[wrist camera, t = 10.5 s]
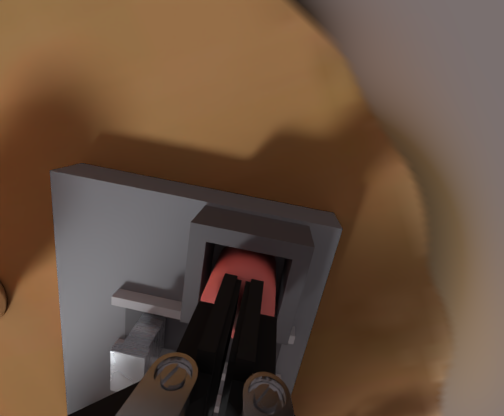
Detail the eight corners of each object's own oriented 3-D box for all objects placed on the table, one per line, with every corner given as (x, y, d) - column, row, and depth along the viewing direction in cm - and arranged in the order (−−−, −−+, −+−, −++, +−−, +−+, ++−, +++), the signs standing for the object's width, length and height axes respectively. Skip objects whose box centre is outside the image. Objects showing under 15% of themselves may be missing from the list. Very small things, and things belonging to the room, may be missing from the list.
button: (270, 296, 15) (266, 345, 12) (214, 284, 15) (196, 330, 12) (281, 246, 14) (282, 285, 11) (222, 233, 14) (204, 268, 11)
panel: (261, 460, 24) (256, 543, 20) (90, 420, 25) (45, 490, 20) (333, 212, 17) (354, 251, 12) (81, 163, 17) (6, 180, 12)
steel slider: (166, 349, 18) (142, 397, 15) (139, 343, 18) (110, 390, 15) (169, 315, 17) (144, 358, 14) (141, 308, 17) (110, 350, 14)
